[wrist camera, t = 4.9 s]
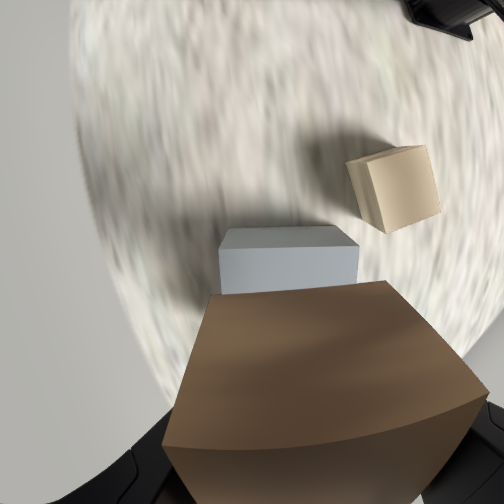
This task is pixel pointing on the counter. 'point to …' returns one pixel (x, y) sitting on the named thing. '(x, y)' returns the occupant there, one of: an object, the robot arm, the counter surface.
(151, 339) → the counter surface
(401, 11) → the counter surface
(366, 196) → the maple cube
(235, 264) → the grey cube
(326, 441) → the walnut cube
